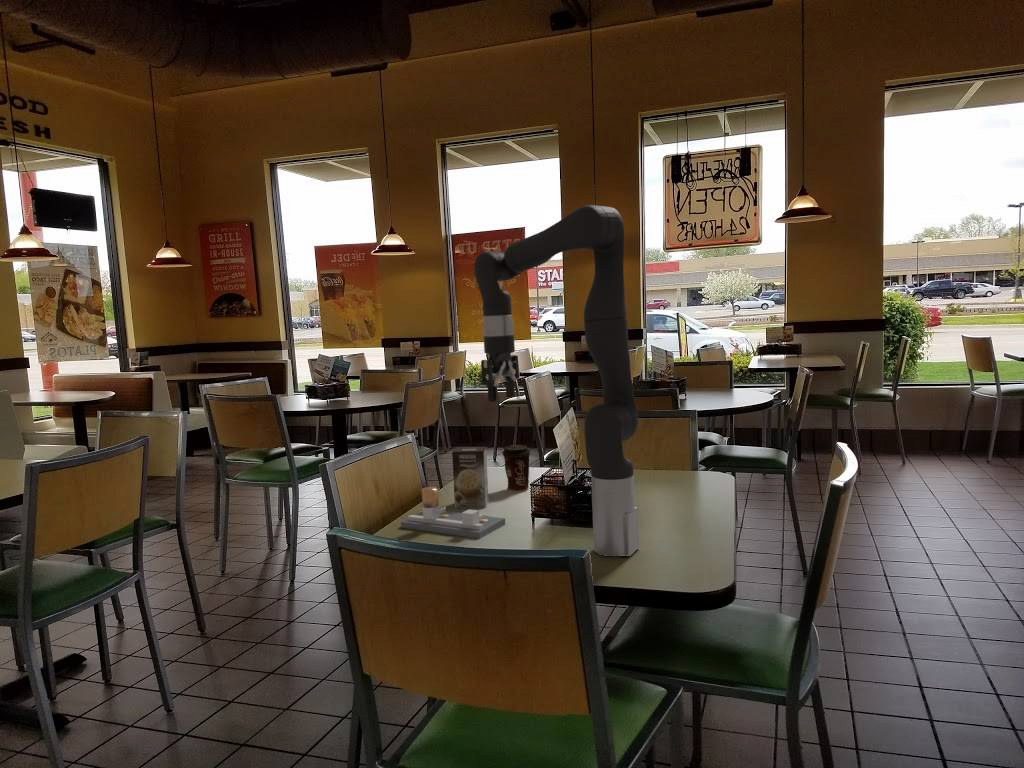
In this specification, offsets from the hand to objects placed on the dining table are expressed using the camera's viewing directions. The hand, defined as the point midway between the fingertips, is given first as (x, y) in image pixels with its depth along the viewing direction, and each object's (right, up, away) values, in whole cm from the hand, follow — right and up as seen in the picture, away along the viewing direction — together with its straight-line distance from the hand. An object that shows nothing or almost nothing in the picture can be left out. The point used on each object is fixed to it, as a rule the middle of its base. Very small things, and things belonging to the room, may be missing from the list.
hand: (502, 399), depth 180 cm
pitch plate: (-13, -32, +5) cm, 35 cm away
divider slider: (-17, -30, +5) cm, 35 cm away
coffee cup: (+4, -28, +38) cm, 47 cm away
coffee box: (-9, -30, +23) cm, 39 cm away
